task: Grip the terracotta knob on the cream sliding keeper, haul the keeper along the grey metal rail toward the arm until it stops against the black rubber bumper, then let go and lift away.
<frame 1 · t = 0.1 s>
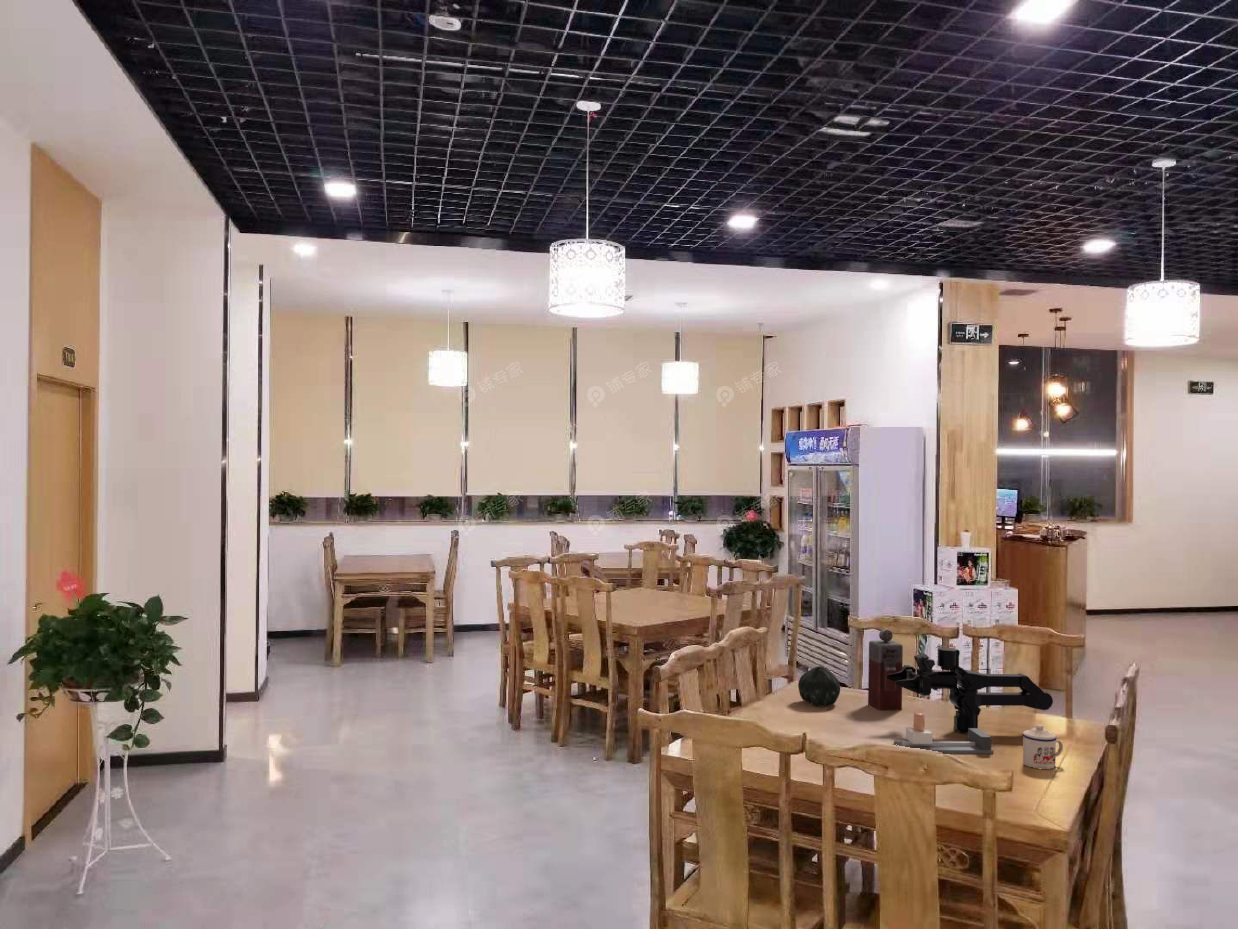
hand: (890, 679, 310), 17 cm above the table, tool horizontal, fingers open, 9 cm apart
track: (942, 748, 290), on the table
square decanter bottle: (886, 708, 340), on the table
teacup with lid: (1043, 766, 275), on the table
squash: (819, 704, 344), on the table
keeper: (919, 727, 290), point 6 cm above the table, slide at 14.0 cm
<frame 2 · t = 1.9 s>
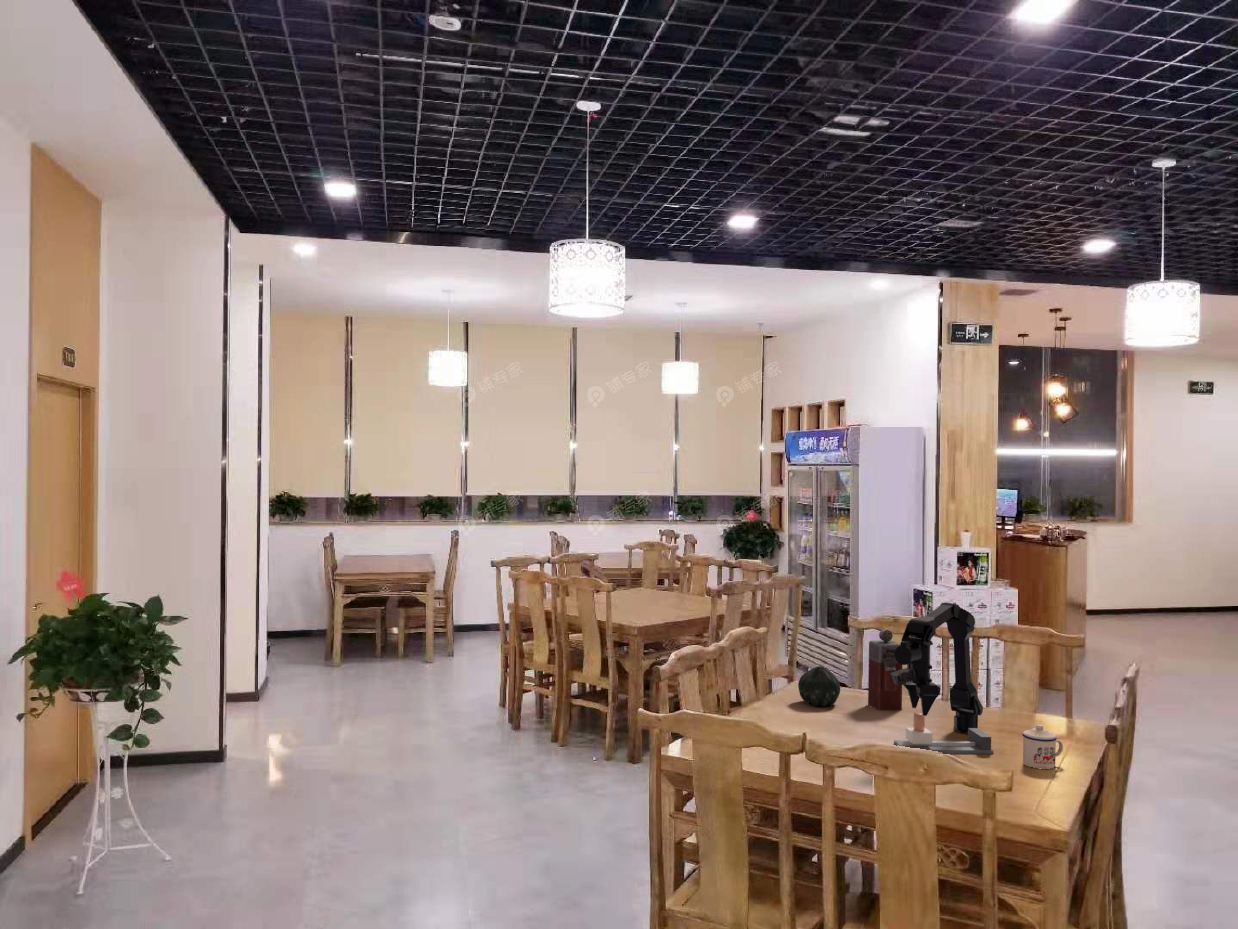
hand: (919, 711, 290), 11 cm above the table, tool pointing down, fingers open, 9 cm apart
nothing on the table moved.
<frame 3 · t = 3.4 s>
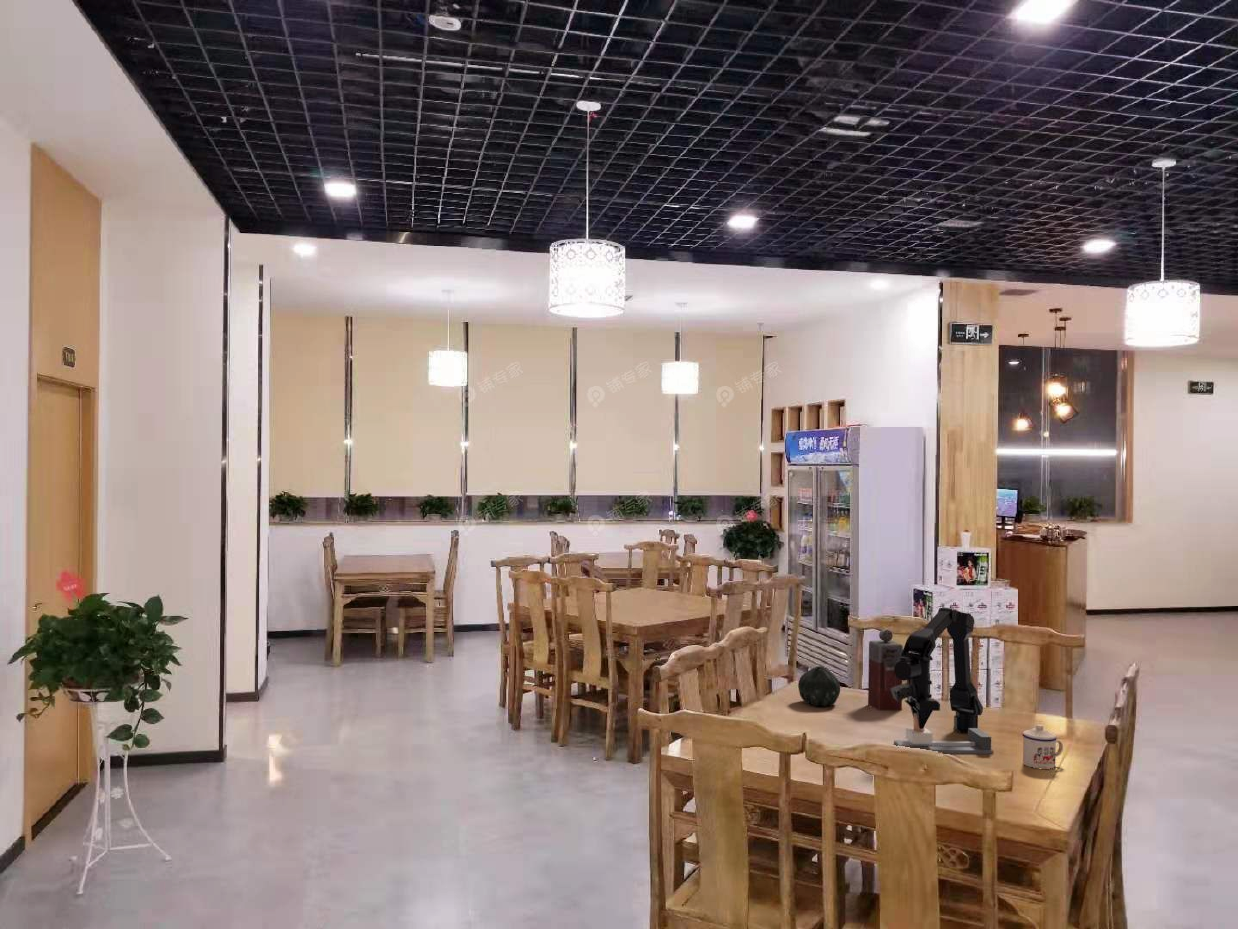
hand: (919, 727, 290), 7 cm above the table, tool pointing down, fingers closed on keeper, 3 cm apart
keeper: (919, 727, 290), point 6 cm above the table, slide at 14.0 cm, touching gripper
everything else where it was.
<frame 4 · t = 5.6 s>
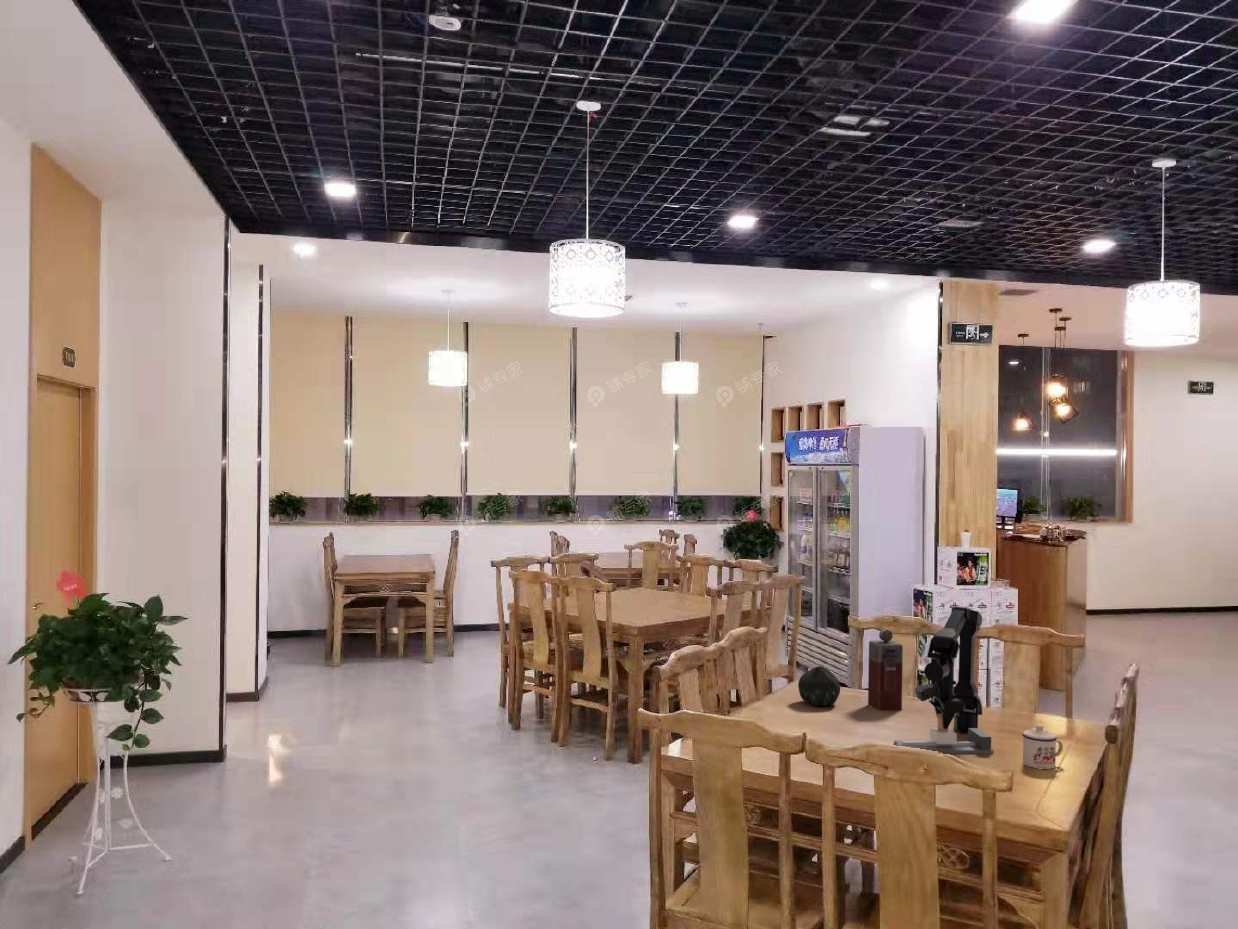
hand: (943, 727, 290), 7 cm above the table, tool pointing down, fingers closed on keeper, 3 cm apart
keeper: (943, 727, 290), point 6 cm above the table, slide at 6.5 cm, touching gripper
everything else where it was.
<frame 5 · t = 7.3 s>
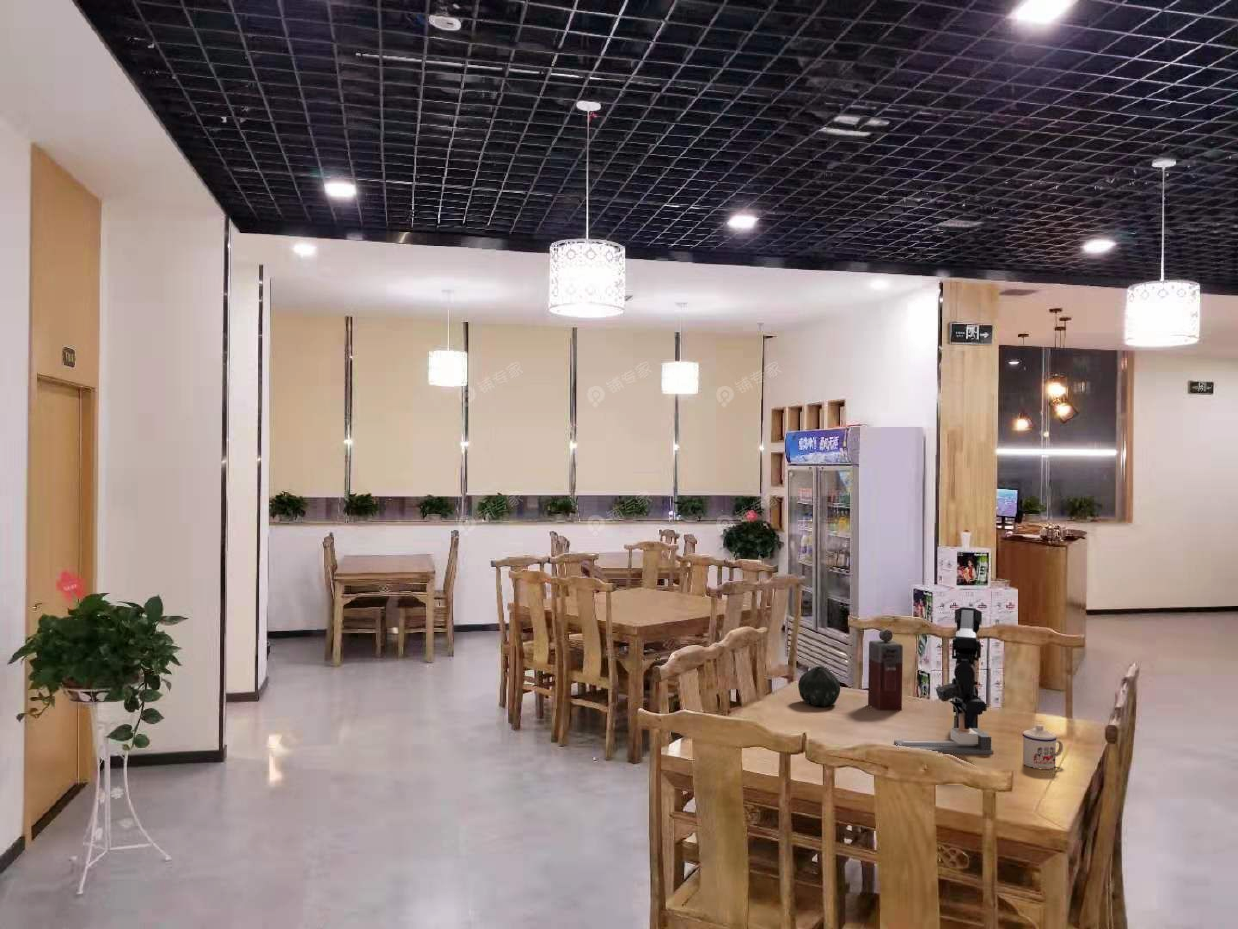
hand: (964, 727, 291), 6 cm above the table, tool pointing down, fingers closed on keeper, 3 cm apart
keeper: (964, 727, 291), point 6 cm above the table, slide at 0.0 cm, touching gripper
everything else where it was.
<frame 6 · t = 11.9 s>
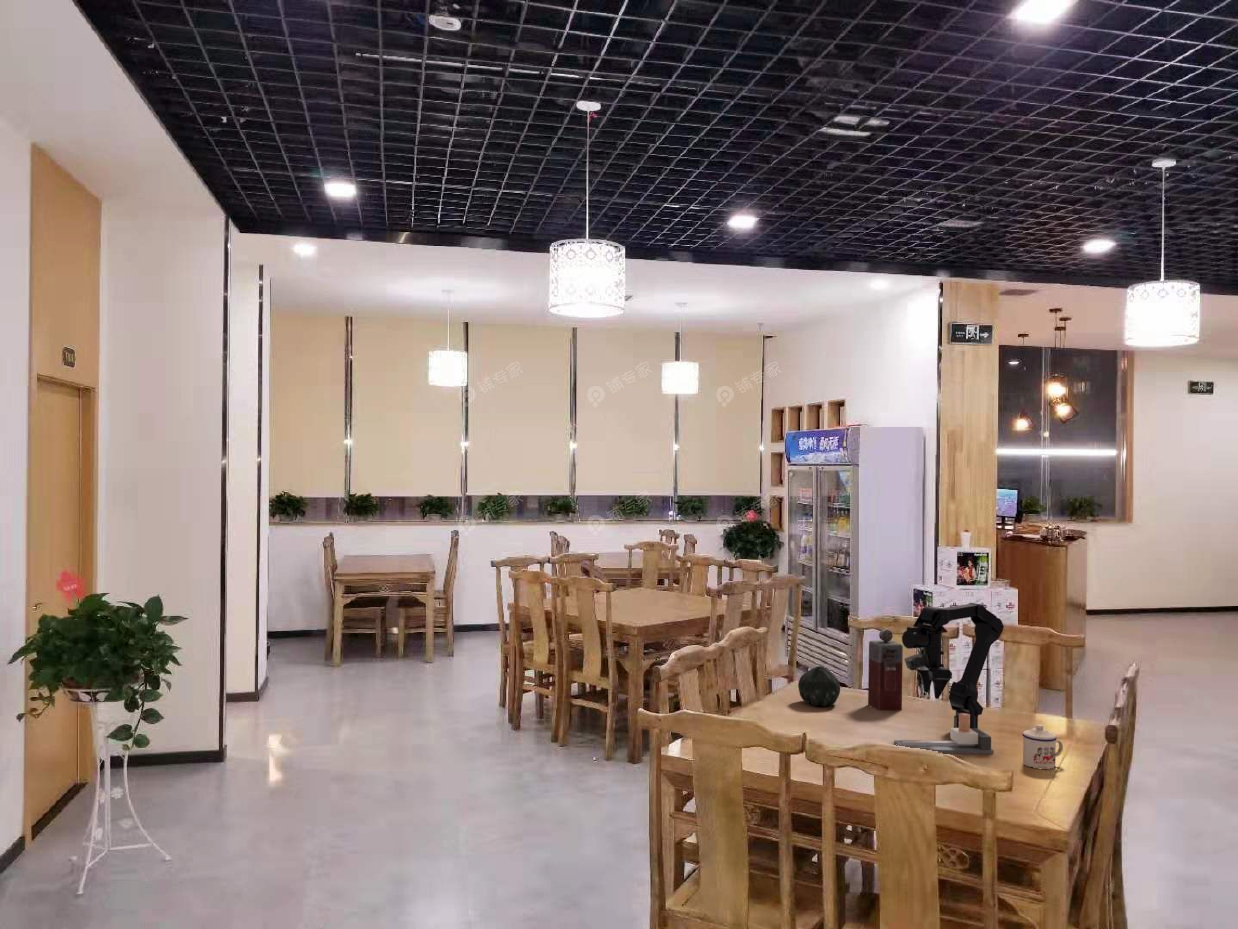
hand: (931, 695, 305), 13 cm above the table, tool pointing down, fingers open, 9 cm apart
keeper: (964, 727, 291), point 6 cm above the table, slide at 0.0 cm
everything else where it was.
at the end: keeper slide at 0.0 cm; the gripper is holding nothing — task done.
